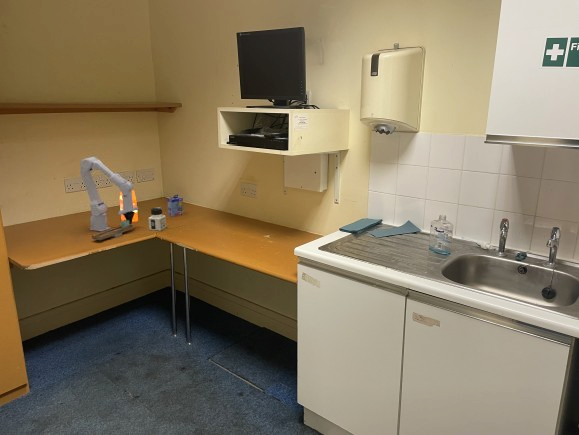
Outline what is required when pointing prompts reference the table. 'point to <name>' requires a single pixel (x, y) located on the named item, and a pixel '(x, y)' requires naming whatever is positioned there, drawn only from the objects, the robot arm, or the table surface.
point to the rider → (124, 223)
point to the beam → (112, 233)
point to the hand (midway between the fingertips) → (129, 223)
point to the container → (157, 220)
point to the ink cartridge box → (175, 206)
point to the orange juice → (135, 217)
